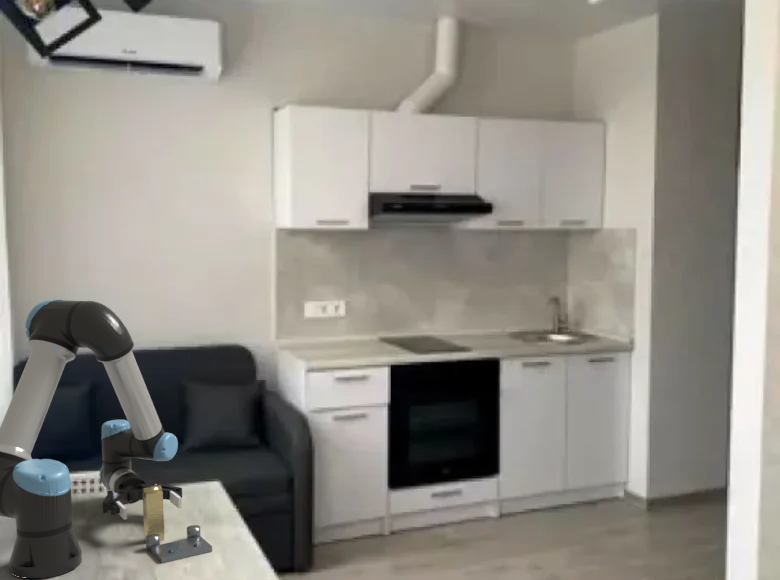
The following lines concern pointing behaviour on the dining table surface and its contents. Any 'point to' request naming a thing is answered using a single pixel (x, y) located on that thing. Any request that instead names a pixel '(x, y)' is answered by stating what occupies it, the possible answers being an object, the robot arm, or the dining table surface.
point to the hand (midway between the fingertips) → (153, 508)
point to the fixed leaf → (178, 546)
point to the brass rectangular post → (153, 511)
